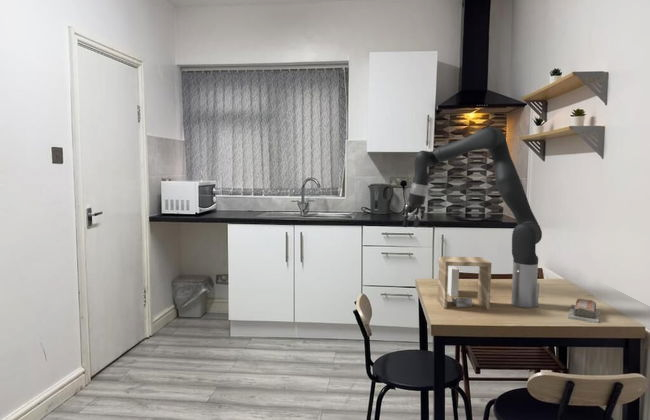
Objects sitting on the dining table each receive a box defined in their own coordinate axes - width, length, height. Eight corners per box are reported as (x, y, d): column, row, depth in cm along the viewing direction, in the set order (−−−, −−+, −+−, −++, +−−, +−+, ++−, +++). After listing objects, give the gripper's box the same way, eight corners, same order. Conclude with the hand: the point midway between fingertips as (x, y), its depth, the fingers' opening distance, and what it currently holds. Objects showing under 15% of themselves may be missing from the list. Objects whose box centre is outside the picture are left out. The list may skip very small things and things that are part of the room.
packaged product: (571, 296, 191) (600, 300, 186) (571, 308, 192) (599, 312, 187) (568, 306, 176) (599, 311, 171) (567, 319, 176) (598, 324, 171)
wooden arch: (480, 301, 198) (481, 257, 196) (489, 309, 186) (491, 262, 185) (437, 300, 198) (439, 256, 197) (444, 308, 186) (445, 261, 185)
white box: (451, 290, 217) (452, 263, 216) (458, 296, 205) (459, 269, 204) (444, 289, 217) (445, 263, 216) (451, 296, 205) (452, 269, 204)
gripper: (415, 194, 216) (407, 229, 219) (433, 196, 226) (425, 229, 229) (402, 190, 221) (394, 224, 224) (420, 192, 231) (412, 224, 234)
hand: (410, 226), depth 226 cm, fingers open, 8 cm apart
